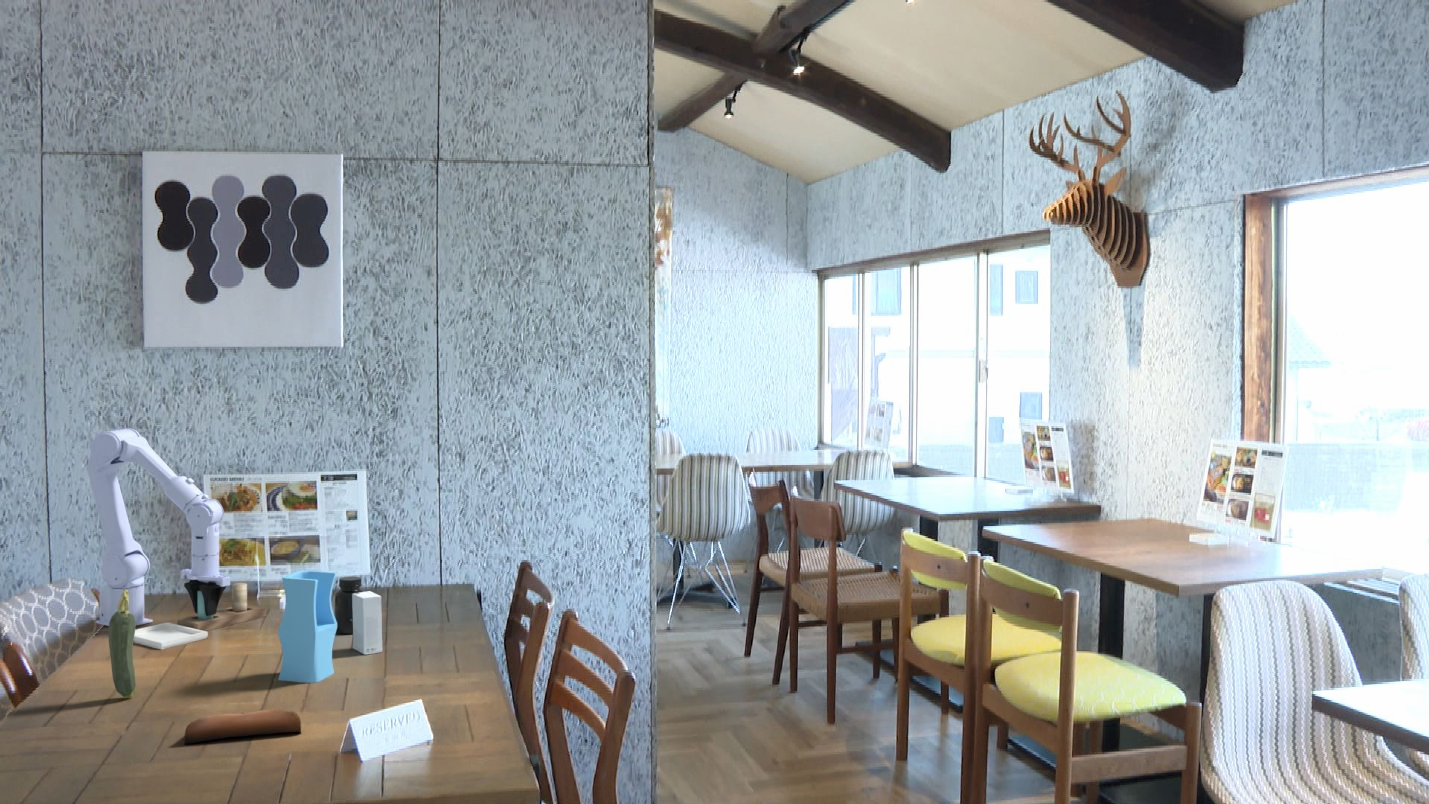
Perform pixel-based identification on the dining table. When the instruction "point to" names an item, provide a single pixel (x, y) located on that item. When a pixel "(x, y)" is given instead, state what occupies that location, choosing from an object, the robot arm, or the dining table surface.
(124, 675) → the vegetable
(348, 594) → the supplement bottle
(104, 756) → the dining table surface
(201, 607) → the teal dowel
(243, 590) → the birch dowel
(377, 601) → the skincare box
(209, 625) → the rack
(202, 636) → the tray
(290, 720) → the sunglasses case
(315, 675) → the vase
